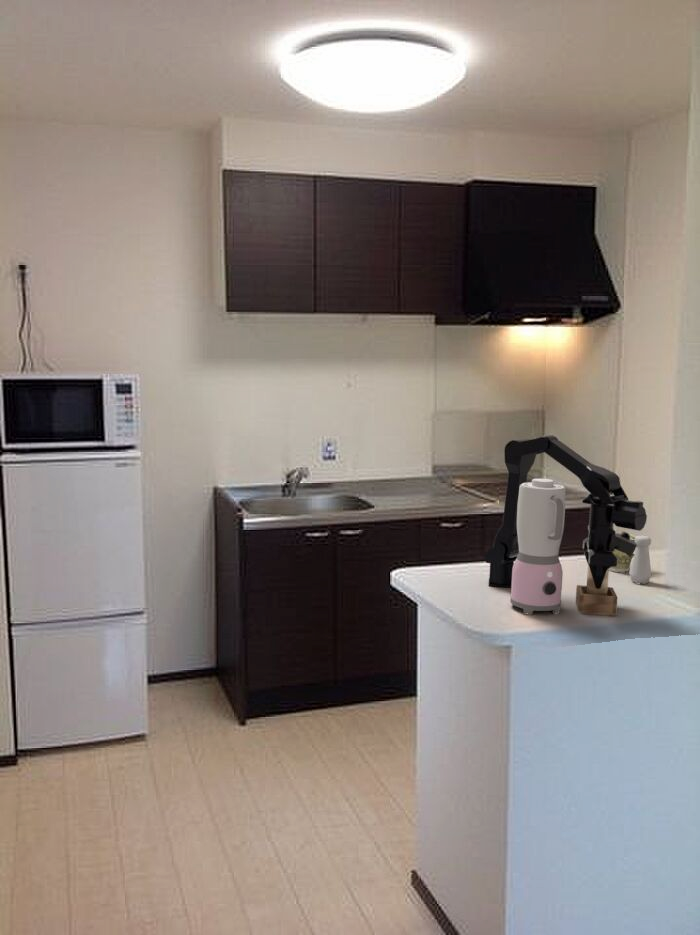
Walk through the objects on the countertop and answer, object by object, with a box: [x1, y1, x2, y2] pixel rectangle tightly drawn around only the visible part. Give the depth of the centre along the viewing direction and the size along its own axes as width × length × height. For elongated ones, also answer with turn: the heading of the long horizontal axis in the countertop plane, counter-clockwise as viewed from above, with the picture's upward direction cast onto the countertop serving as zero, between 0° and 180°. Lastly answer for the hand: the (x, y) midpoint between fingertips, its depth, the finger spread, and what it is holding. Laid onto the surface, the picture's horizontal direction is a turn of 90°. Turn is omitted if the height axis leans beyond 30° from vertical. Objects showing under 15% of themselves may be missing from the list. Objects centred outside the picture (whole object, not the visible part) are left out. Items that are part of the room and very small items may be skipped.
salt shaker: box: [628, 534, 652, 585], centre depth 244 cm, size 6×6×13 cm
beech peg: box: [586, 559, 610, 596], centre depth 217 cm, size 5×5×10 cm
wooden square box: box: [575, 584, 618, 617], centre depth 218 cm, size 9×9×5 cm
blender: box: [510, 478, 566, 615], centre depth 214 cm, size 16×12×32 cm
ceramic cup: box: [609, 532, 637, 573], centre depth 257 cm, size 13×10×10 cm
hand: (596, 585), depth 218 cm, fingers closed on beech peg, 5 cm apart
